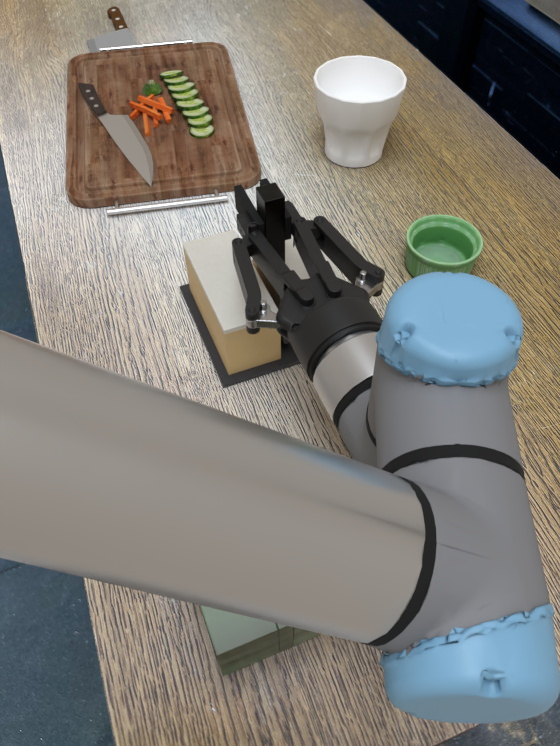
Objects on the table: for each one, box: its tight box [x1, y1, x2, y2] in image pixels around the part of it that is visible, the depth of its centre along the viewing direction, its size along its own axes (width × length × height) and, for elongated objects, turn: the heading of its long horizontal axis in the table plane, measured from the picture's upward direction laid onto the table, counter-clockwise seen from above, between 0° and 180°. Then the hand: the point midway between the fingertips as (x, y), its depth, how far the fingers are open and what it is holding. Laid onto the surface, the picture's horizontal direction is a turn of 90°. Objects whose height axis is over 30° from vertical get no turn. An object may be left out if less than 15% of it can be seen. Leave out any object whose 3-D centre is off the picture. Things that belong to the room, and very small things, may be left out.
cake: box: [179, 211, 346, 389], centre depth 72 cm, size 16×16×8 cm
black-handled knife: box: [255, 182, 289, 344], centre depth 66 cm, size 8×2×17 cm, turn 22°
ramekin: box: [404, 213, 484, 278], centre depth 78 cm, size 9×9×4 cm
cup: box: [312, 54, 408, 169], centre depth 90 cm, size 12×12×11 cm
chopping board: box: [64, 38, 262, 216], centre depth 99 cm, size 45×27×3 cm, turn 11°
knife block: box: [199, 605, 322, 677], centre depth 53 cm, size 12×11×6 cm
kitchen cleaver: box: [86, 5, 138, 53], centre depth 116 cm, size 24×1×10 cm
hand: (251, 193), depth 65 cm, fingers closed on black-handled knife, 2 cm apart
